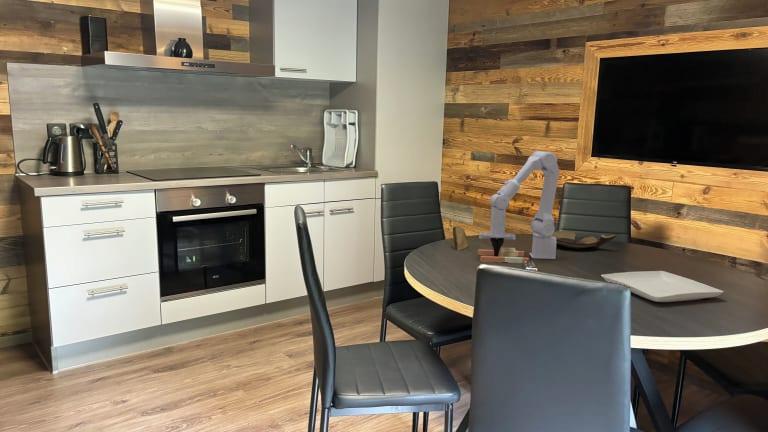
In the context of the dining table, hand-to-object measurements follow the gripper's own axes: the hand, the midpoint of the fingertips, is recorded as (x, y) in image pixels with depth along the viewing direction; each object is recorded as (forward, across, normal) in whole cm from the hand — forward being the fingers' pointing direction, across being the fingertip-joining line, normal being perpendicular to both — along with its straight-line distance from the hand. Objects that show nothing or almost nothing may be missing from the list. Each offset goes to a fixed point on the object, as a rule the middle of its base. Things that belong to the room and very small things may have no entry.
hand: (496, 256), depth 231 cm
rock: (+1, -13, +18) cm, 22 cm away
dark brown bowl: (+1, +39, +27) cm, 48 cm away
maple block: (+1, +5, 0) cm, 5 cm away
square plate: (+2, +50, -38) cm, 63 cm away
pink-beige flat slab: (+1, +3, 0) cm, 3 cm away
